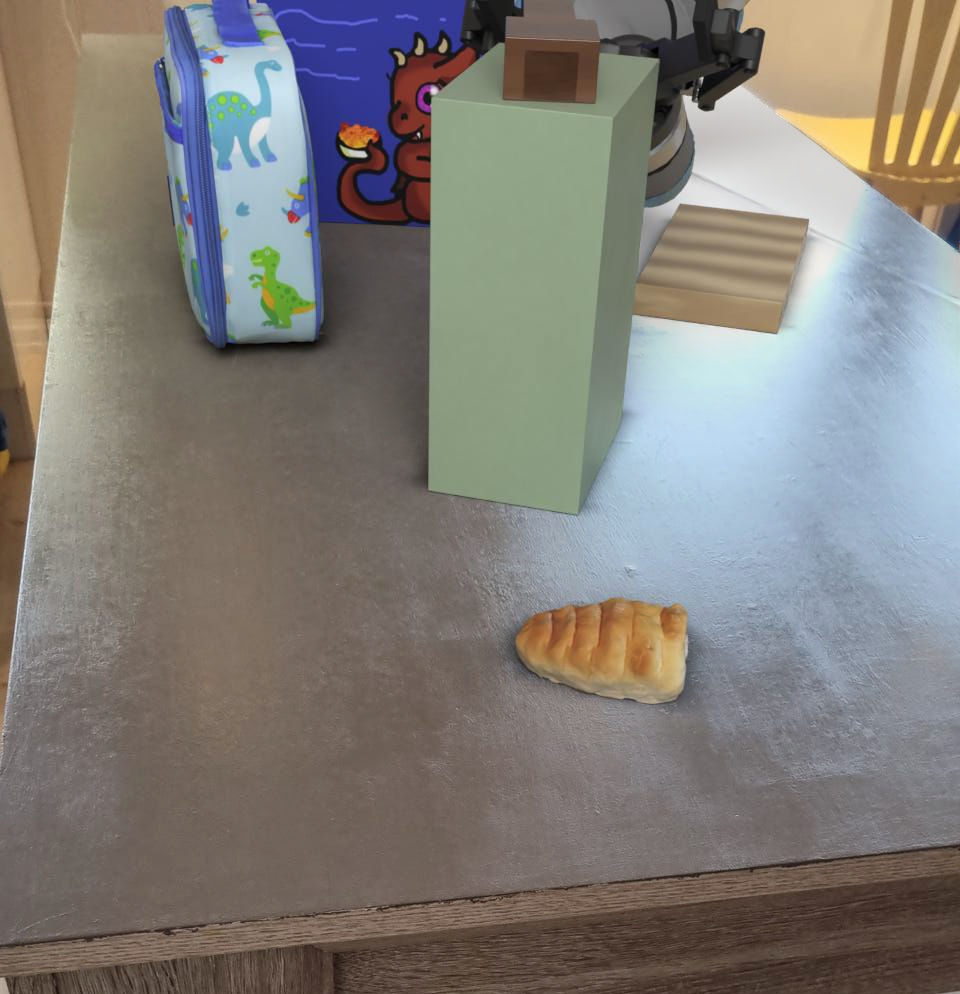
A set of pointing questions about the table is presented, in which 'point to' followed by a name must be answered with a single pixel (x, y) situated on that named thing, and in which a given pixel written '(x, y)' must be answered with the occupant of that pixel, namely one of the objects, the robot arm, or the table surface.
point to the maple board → (722, 268)
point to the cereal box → (373, 99)
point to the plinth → (533, 280)
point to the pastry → (610, 648)
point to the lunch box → (240, 174)
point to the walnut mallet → (550, 54)
